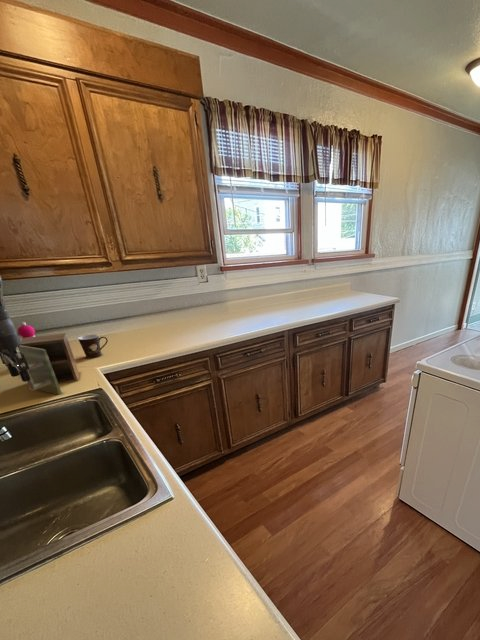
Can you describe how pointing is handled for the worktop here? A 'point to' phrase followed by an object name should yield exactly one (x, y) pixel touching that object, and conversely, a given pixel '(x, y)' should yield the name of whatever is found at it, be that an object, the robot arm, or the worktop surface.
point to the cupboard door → (40, 370)
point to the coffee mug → (91, 345)
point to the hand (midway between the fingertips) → (21, 378)
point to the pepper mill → (26, 331)
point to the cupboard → (56, 355)
